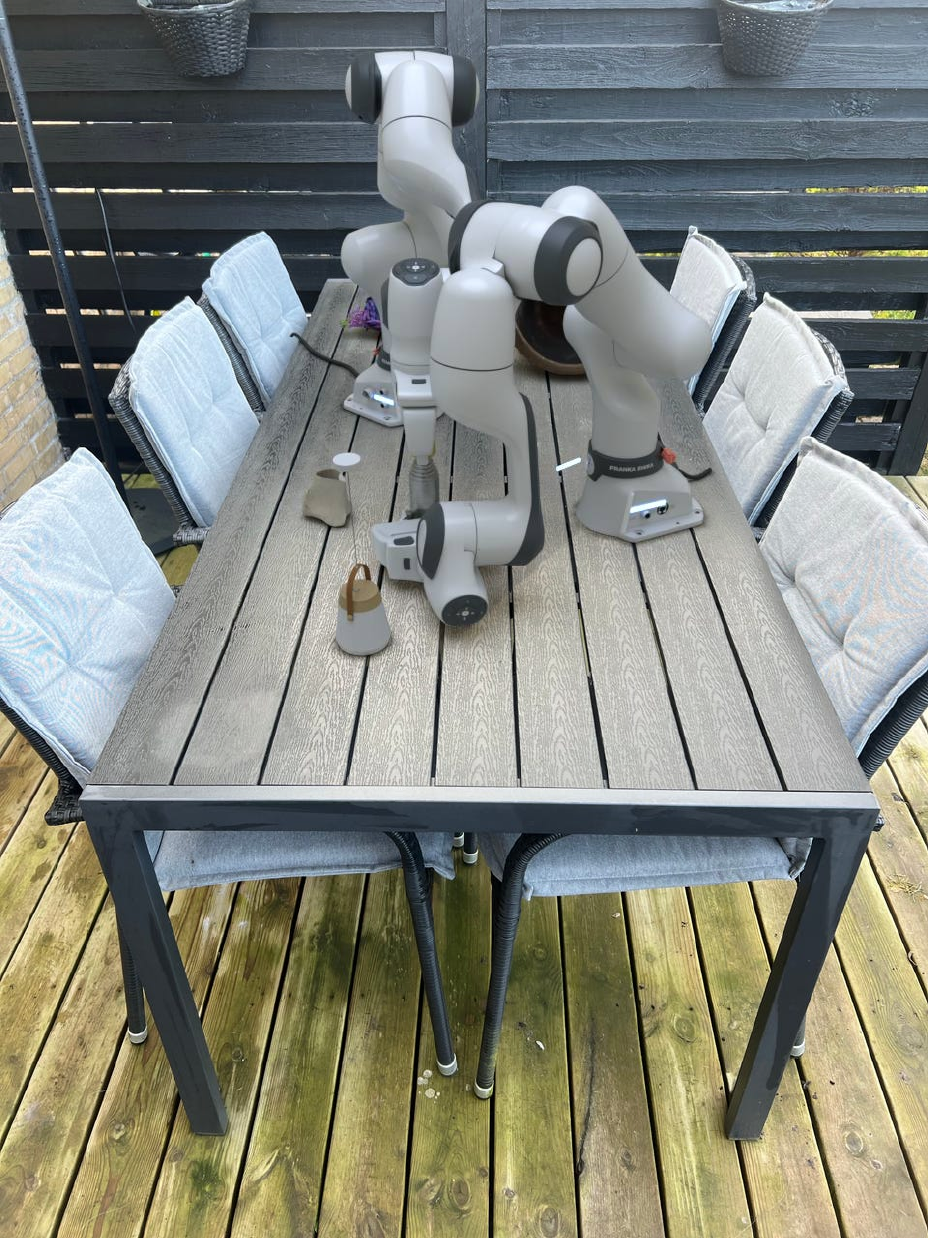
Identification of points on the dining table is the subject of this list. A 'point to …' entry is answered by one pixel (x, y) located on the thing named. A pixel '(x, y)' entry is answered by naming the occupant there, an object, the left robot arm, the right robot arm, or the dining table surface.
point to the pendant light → (359, 596)
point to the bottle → (423, 487)
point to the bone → (327, 498)
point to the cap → (429, 455)
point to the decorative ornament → (365, 318)
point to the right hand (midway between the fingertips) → (423, 511)
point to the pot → (545, 337)
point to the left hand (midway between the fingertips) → (423, 454)
